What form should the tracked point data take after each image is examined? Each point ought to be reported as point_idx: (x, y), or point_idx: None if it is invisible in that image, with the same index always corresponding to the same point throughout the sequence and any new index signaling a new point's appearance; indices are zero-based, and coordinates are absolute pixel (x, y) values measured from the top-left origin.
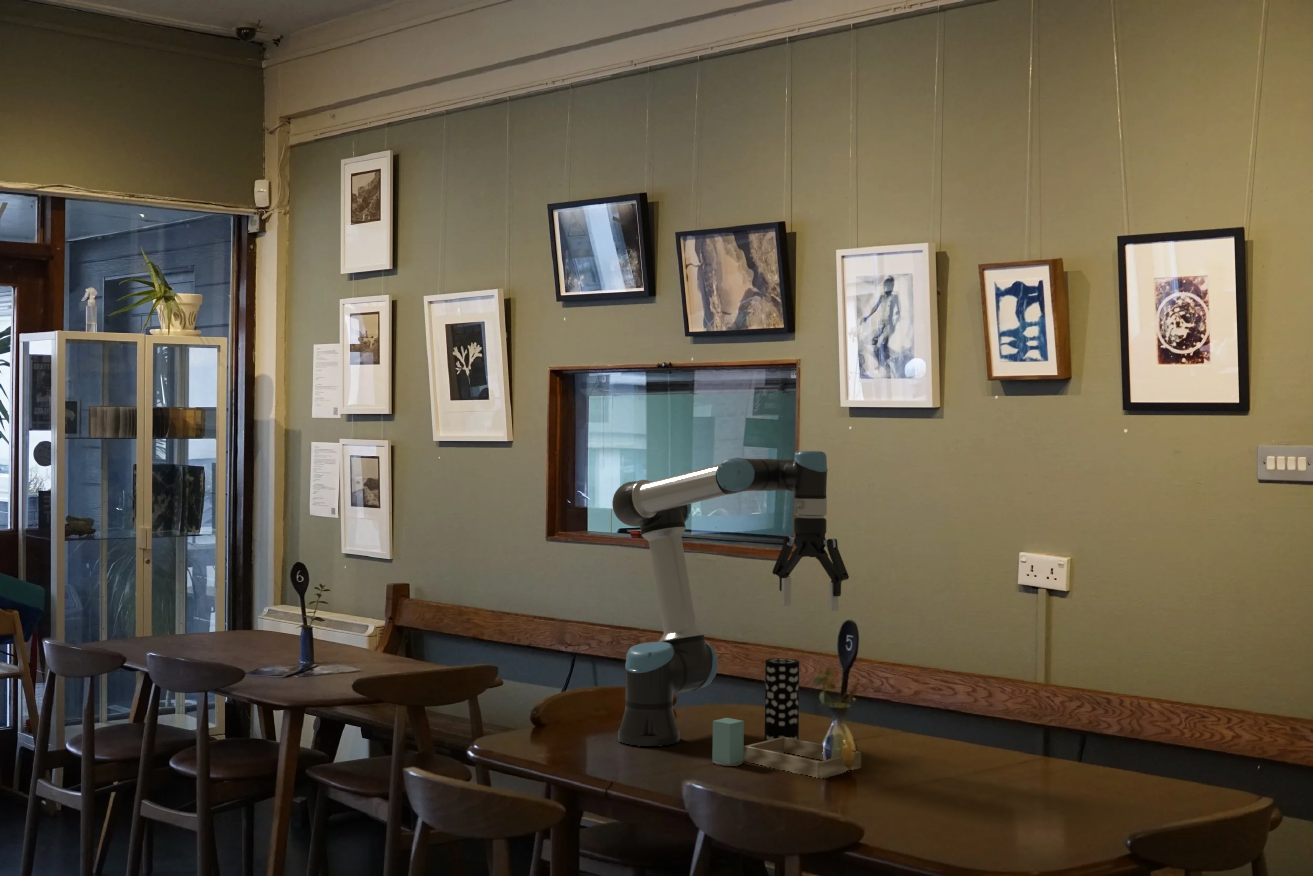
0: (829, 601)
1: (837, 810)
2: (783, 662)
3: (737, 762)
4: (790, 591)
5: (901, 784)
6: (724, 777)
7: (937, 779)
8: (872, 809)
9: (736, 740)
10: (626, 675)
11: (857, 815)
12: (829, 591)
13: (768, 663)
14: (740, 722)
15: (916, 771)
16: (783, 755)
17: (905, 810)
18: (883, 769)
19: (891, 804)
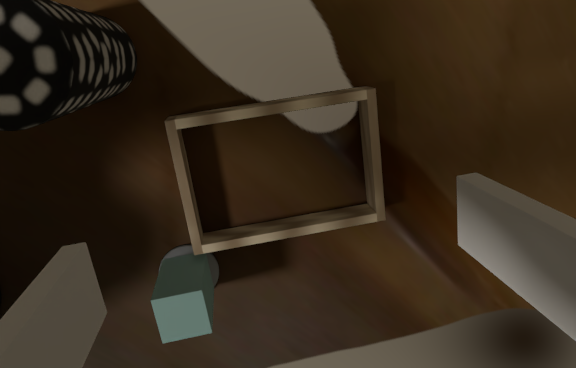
0: (497, 271)
1: (501, 306)
2: (33, 83)
3: (211, 268)
4: (50, 303)
5: (485, 118)
6: (266, 330)
7: (511, 31)
8: None
9: (208, 291)
10: None
11: None
12: (544, 309)
13: (2, 129)
14: (204, 299)
15: (451, 12)
16: (296, 235)
17: None
18: (400, 56)
19: None
